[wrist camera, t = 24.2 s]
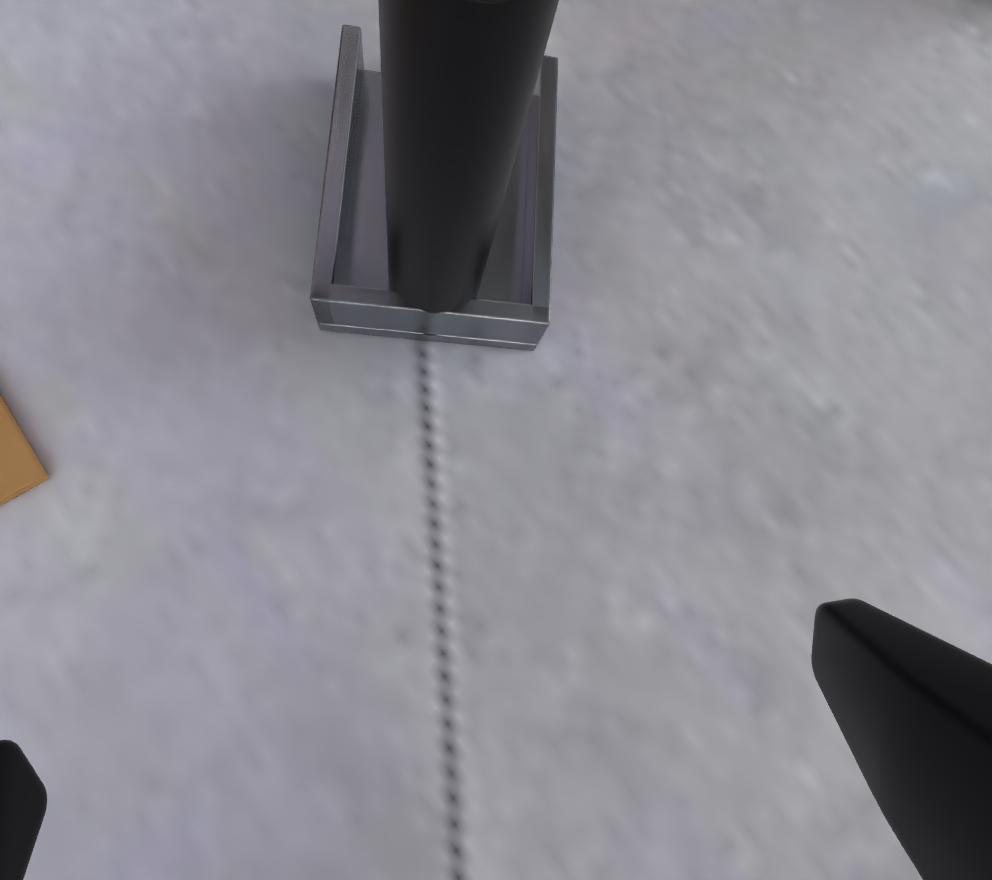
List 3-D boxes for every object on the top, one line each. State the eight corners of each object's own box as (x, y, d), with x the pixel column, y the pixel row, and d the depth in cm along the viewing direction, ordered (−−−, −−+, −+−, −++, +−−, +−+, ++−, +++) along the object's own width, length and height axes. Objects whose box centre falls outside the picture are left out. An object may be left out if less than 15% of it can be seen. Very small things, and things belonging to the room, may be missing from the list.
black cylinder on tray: (534, 351, 22) (716, 41, 9) (319, 331, 21) (199, -46, 8) (543, 108, 24) (703, -418, 11) (347, 79, 23) (285, -528, 10)
